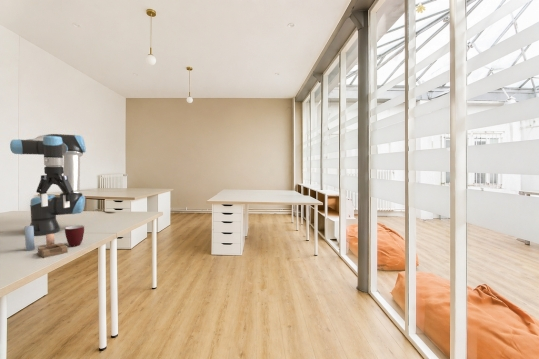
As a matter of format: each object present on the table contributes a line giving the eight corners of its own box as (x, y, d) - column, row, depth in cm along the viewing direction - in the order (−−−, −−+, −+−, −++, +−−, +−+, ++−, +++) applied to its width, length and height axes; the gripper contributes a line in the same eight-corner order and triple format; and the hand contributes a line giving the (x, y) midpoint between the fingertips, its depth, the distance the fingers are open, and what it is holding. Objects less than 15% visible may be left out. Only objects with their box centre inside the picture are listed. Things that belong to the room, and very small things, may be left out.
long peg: (25, 249, 126) (23, 226, 125) (33, 248, 129) (32, 225, 128) (26, 251, 124) (25, 227, 124) (35, 249, 127) (34, 226, 126)
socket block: (37, 253, 121) (37, 247, 121) (61, 248, 129) (60, 243, 128) (43, 257, 116) (43, 251, 116) (67, 252, 124) (67, 246, 123)
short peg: (45, 245, 133) (45, 234, 132) (53, 244, 136) (52, 233, 135) (47, 246, 131) (47, 235, 131) (55, 245, 134) (54, 234, 133)
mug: (64, 244, 136) (64, 225, 135) (83, 241, 142) (82, 223, 141) (66, 249, 128) (65, 229, 128) (85, 245, 134) (84, 227, 133)
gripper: (25, 165, 127) (27, 206, 129) (67, 166, 123) (69, 209, 125) (41, 165, 135) (43, 204, 136) (81, 166, 131) (82, 206, 132)
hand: (55, 206), depth 130 cm, fingers open, 13 cm apart
